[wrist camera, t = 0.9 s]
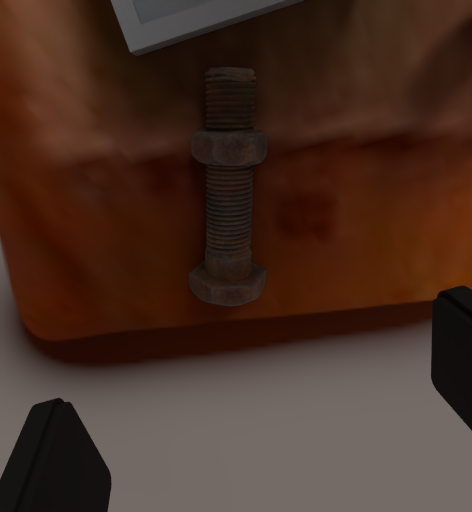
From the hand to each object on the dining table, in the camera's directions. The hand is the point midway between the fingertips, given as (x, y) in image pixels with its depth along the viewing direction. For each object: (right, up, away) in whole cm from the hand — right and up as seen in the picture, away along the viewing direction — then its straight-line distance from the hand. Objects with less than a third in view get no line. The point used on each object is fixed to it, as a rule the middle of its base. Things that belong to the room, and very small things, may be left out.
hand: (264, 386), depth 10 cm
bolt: (-1, +9, +18) cm, 20 cm away
